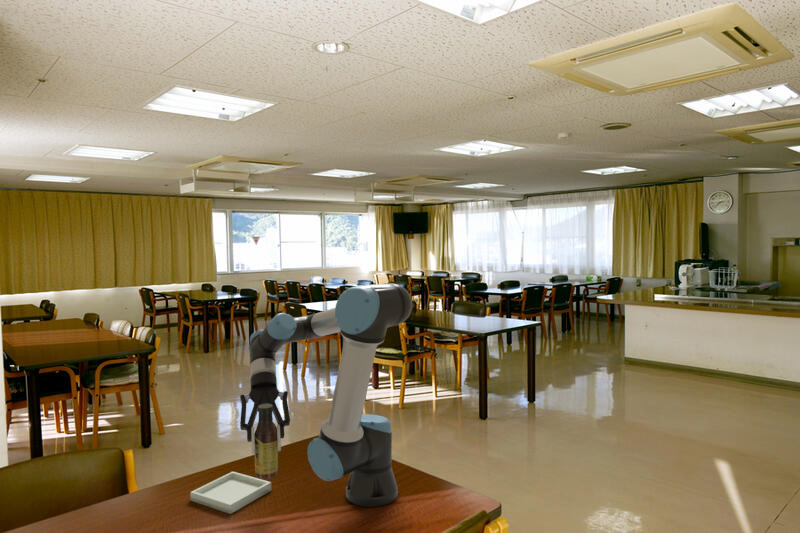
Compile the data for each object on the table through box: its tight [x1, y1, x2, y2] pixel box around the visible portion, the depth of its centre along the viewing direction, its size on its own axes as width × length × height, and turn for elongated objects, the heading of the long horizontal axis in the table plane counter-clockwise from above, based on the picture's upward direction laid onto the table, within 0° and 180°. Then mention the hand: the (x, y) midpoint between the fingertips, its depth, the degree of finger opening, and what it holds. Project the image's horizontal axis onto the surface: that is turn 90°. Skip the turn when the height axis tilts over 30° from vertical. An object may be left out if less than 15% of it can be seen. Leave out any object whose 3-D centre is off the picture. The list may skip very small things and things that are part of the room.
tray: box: [190, 471, 272, 515], centre depth 156 cm, size 16×16×2 cm
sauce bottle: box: [254, 404, 279, 480], centre depth 147 cm, size 7×6×20 cm
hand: (266, 450), depth 144 cm, fingers closed on sauce bottle, 6 cm apart
